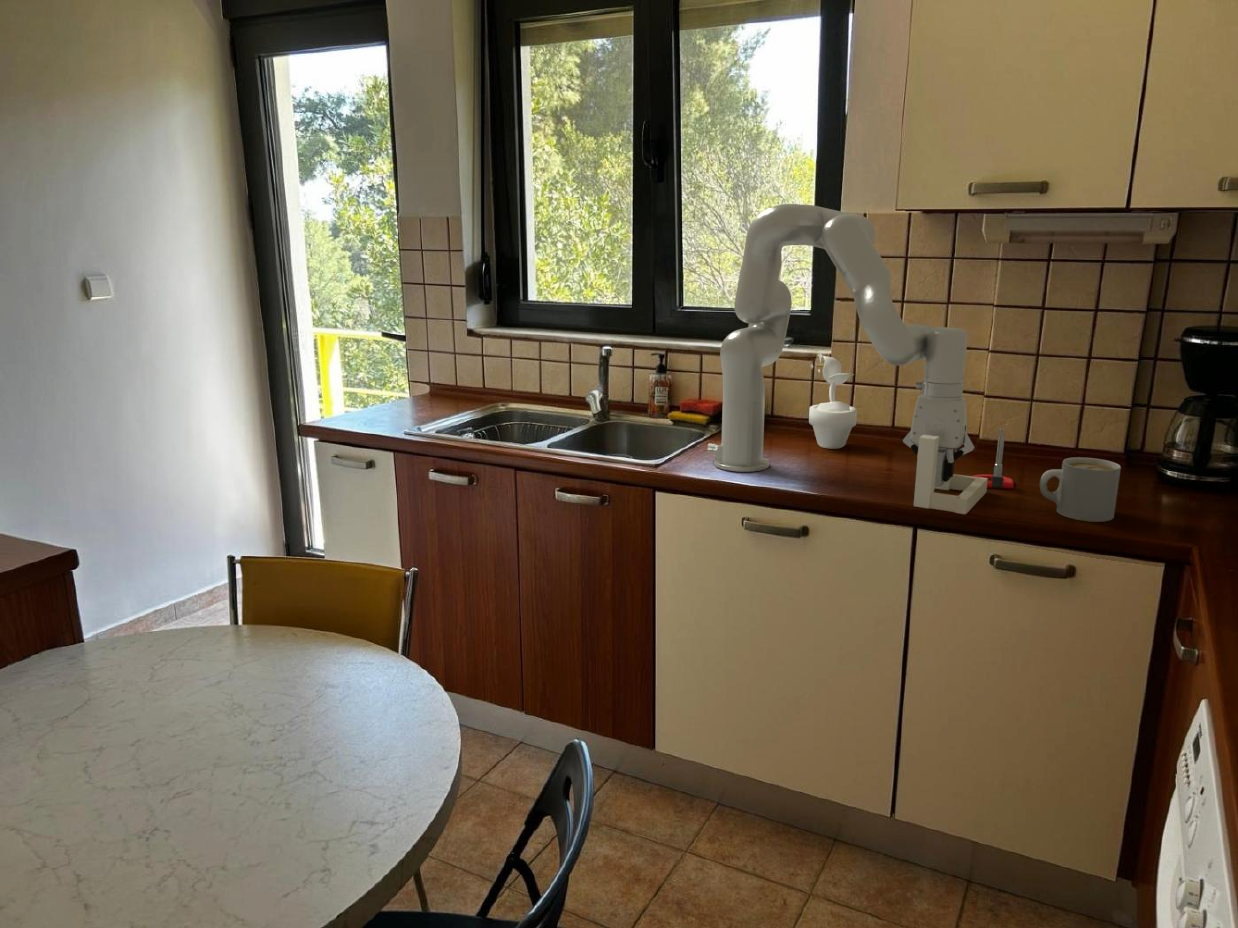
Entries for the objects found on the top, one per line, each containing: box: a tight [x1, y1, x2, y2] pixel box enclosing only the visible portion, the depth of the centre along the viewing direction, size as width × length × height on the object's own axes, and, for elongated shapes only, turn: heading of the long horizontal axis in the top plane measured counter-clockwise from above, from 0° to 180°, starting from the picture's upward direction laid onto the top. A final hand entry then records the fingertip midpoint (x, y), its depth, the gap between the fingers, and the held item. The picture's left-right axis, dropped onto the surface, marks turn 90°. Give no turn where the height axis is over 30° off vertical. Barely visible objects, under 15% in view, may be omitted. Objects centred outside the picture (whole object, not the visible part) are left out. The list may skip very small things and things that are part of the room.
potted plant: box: [808, 348, 858, 450], centre depth 227 cm, size 13×12×25 cm
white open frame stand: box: [913, 435, 989, 515], centre depth 185 cm, size 10×18×14 cm, turn 147°
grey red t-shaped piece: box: [971, 428, 1015, 490], centre depth 197 cm, size 8×13×9 cm
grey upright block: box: [935, 448, 947, 487], centre depth 187 cm, size 4×7×7 cm, turn 147°
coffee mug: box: [1039, 456, 1122, 523], centre depth 177 cm, size 13×10×10 cm
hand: (935, 477), depth 188 cm, fingers closed on grey upright block, 4 cm apart
